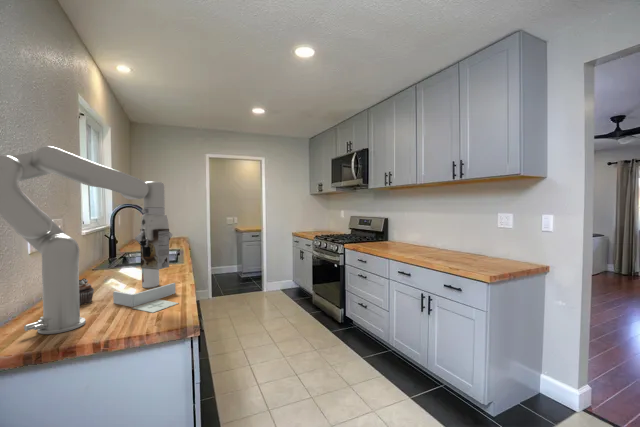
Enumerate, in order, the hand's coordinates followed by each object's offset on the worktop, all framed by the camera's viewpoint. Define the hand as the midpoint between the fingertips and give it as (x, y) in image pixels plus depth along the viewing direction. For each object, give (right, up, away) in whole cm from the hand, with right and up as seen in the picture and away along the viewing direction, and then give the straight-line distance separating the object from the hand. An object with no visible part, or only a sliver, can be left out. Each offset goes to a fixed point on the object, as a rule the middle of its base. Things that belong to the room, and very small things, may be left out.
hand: (155, 254), depth 125 cm
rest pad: (0, -21, +1) cm, 21 cm away
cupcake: (-35, -21, +6) cm, 41 cm away
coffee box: (0, -6, 0) cm, 6 cm away
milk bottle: (-19, -21, +31) cm, 42 cm away
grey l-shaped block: (-10, -21, +11) cm, 26 cm away
